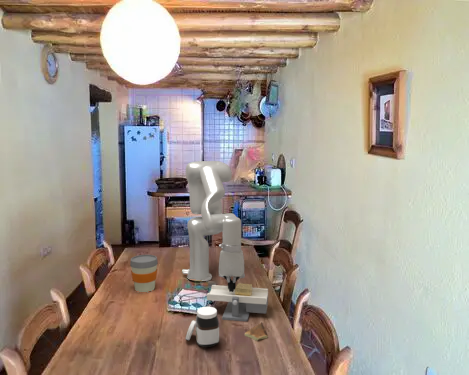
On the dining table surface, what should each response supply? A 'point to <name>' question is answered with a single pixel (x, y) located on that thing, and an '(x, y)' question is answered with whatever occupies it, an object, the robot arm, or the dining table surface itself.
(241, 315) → the balance stand
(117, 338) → the dining table surface
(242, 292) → the block
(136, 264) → the reusable coffee cup
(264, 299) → the beam
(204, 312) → the spread jar
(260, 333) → the shard
